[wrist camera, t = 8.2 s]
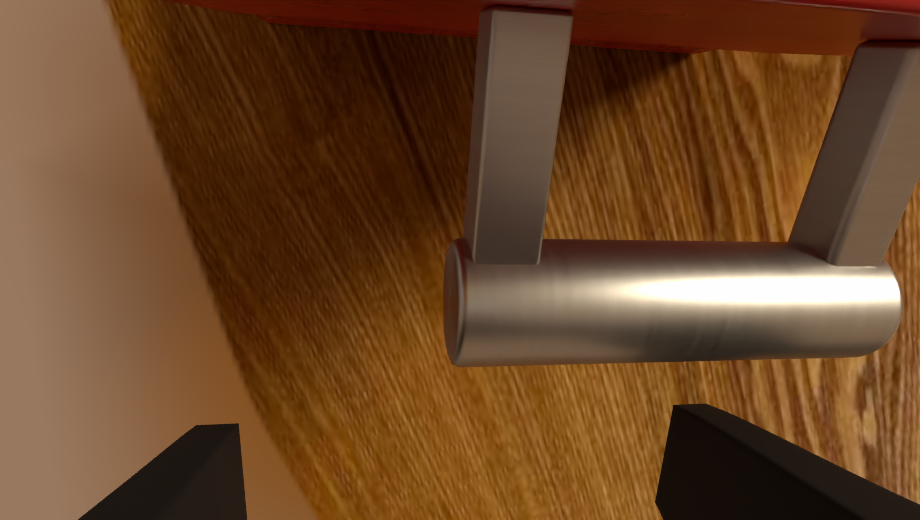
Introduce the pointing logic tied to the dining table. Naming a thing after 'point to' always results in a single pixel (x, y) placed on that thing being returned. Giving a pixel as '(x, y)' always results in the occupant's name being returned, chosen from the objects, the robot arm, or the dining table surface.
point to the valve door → (651, 261)
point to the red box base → (466, 33)
